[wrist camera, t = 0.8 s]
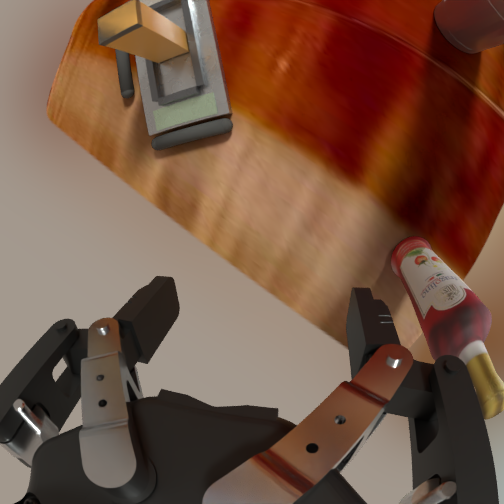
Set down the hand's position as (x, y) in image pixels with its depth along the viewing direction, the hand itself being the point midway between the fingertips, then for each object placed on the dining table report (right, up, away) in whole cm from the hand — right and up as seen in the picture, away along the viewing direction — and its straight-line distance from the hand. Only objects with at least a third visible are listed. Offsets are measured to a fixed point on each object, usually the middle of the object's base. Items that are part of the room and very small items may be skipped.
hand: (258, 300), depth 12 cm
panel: (-11, +31, +18) cm, 37 cm away
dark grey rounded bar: (-8, +18, +23) cm, 31 cm away
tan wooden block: (-11, +30, +17) cm, 36 cm away
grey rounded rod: (-20, +32, +19) cm, 42 cm away
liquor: (+23, +2, +25) cm, 34 cm away
